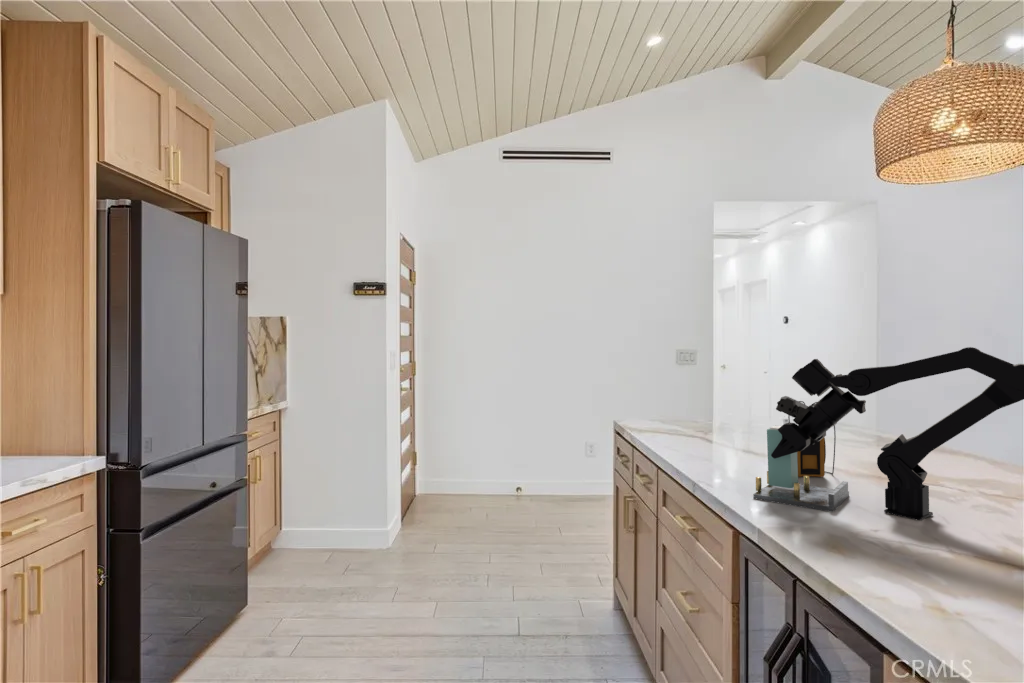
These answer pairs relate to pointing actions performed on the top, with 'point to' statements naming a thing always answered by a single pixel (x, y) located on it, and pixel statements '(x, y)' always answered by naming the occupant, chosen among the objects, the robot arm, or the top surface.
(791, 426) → the robot arm
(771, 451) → the plate
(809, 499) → the plate
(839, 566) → the top surface
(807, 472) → the multimeter
